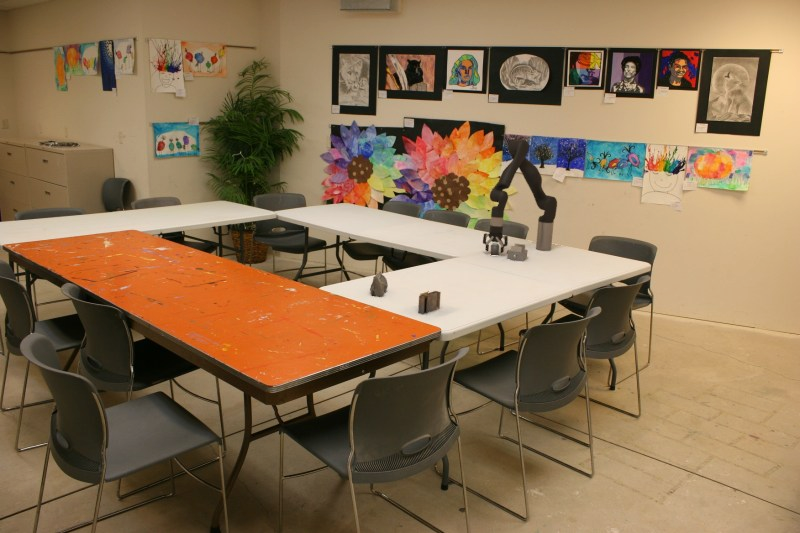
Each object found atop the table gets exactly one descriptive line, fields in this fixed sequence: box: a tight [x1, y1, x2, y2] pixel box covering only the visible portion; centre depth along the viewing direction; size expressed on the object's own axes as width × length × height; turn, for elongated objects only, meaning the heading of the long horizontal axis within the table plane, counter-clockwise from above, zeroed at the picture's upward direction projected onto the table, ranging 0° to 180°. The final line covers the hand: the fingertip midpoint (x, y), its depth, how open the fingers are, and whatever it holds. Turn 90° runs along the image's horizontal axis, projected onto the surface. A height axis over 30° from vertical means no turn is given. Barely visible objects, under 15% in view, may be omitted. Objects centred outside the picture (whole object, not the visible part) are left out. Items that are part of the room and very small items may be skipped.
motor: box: [506, 243, 528, 262], centre depth 384 cm, size 12×11×8 cm
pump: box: [490, 242, 500, 256], centre depth 391 cm, size 5×5×7 cm
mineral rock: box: [369, 271, 389, 297], centre depth 300 cm, size 13×11×10 cm
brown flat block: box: [417, 290, 442, 315], centre depth 276 cm, size 11×3×10 cm, turn 141°
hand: (494, 252), depth 392 cm, fingers open, 8 cm apart
